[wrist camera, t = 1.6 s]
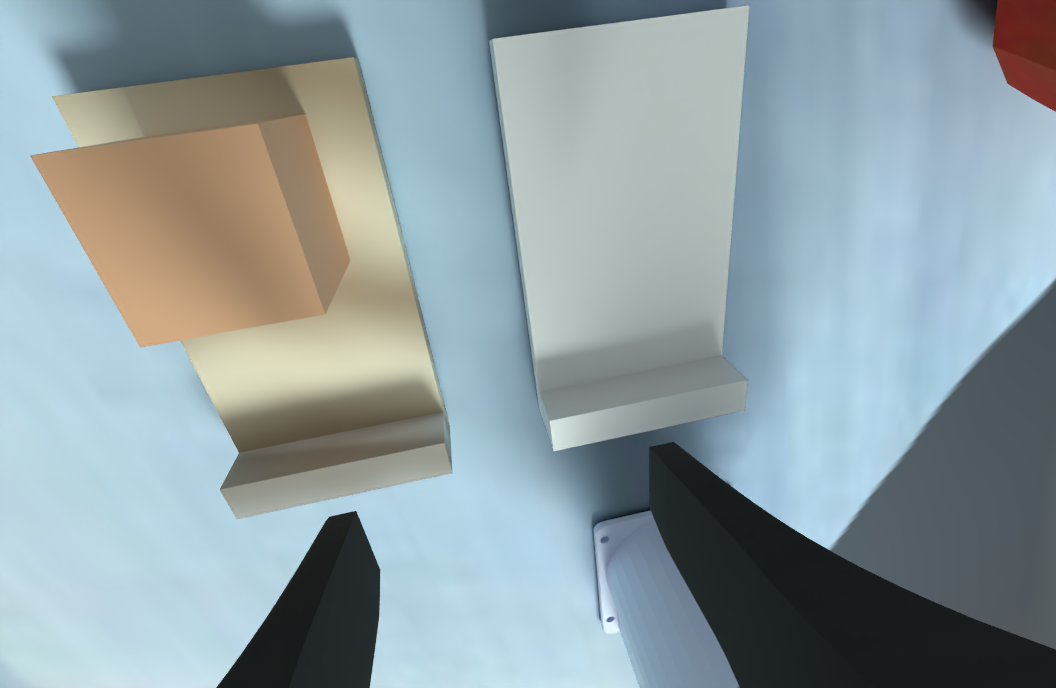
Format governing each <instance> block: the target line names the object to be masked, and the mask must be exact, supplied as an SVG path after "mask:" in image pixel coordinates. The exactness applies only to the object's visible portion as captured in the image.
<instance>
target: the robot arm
mask: <svg viewBox="0 0 1056 688" xmlns="http://www.w3.org/2000/svg"><path fill="white" fill-rule="evenodd" d="M649 480H650V511H646V512H642V513H637V514H633V515H629V516H624V517H620V518H616V519H611V520H607V521H602V522H600V523H598V524H597V525H596V526H595V527H594V542H595V554H596V566H597V578H598V590H599V602H600V614H601V626H602V629H603V632H604V633H606V634H612V633H616V632H621V635H622V638H623V641H624V644H625V647H626V649H627V652H628V655H629V658H630V661H631V664H632V667H633V670H634V672H635V675H636V678H637V681H638V684H639V687H640V688H1056V650H1055V649H1053V648H1050V647H1047V646H1045V645H1042V644H1039V643H1036V642H1034V641H1031V640H1028V639H1026V638H1023V637H1020V636H1018V635H1015V634H1012V633H1010V632H1007V631H1004V630H1002V629H999V628H996V627H994V626H991V625H988V624H986V623H983V622H980V621H978V620H975V619H973V618H971V617H968V616H966V615H963V614H961V613H958V612H956V611H954V610H951V609H949V608H947V607H944V606H942V605H940V604H937V603H935V602H933V601H930V600H928V599H926V598H924V597H921V596H919V595H917V594H915V593H913V592H910V591H908V590H906V589H904V588H902V587H899V586H897V585H896V584H894V583H891V582H889V581H887V580H885V579H883V578H881V577H879V576H877V575H875V574H873V573H871V572H869V571H867V570H865V569H863V568H861V567H859V566H857V565H855V564H853V563H852V562H850V561H847V560H846V559H844V558H842V557H840V556H838V555H837V554H835V553H833V552H831V551H830V550H828V549H826V548H824V547H823V546H821V545H819V544H817V543H816V542H814V541H812V540H810V539H809V538H807V537H805V536H804V535H802V534H800V533H799V532H797V531H795V530H794V529H792V528H791V527H789V526H788V525H786V524H785V523H783V522H781V521H780V520H778V519H777V518H775V517H774V516H772V515H771V514H769V513H768V512H766V511H765V510H763V509H762V508H761V507H759V506H758V505H756V504H755V503H753V502H752V501H751V500H749V499H748V498H746V497H745V496H744V495H742V494H741V493H740V492H738V491H737V490H735V489H734V488H733V487H731V486H730V485H729V484H727V483H726V482H725V481H723V480H722V479H721V478H719V477H718V476H717V475H715V474H714V473H713V472H711V471H710V470H709V469H708V468H706V467H705V466H704V465H702V464H701V463H700V462H699V461H697V460H696V459H695V458H694V457H692V456H691V455H690V454H688V453H687V452H686V451H685V450H683V449H682V448H681V447H680V446H678V445H677V444H676V443H674V442H671V443H667V444H662V445H657V446H653V447H649ZM379 604H380V568H379V566H378V564H377V561H376V559H375V556H374V554H373V551H372V549H371V546H370V544H369V541H368V539H367V536H366V534H365V532H364V529H363V527H362V524H361V522H360V519H359V517H358V514H357V512H356V511H354V512H349V513H345V514H340V515H335V516H331V517H329V518H328V519H327V520H326V522H325V523H324V525H323V527H322V528H321V530H320V532H319V534H318V535H317V537H316V539H315V540H314V542H313V544H312V545H311V547H310V549H309V550H308V552H307V554H306V556H305V557H304V559H303V561H302V562H301V564H300V565H299V567H298V569H297V570H296V572H295V574H294V575H293V577H292V579H291V580H290V582H289V583H288V585H287V586H286V588H285V590H284V591H283V593H282V594H281V596H280V597H279V599H278V601H277V602H276V604H275V605H274V607H273V609H272V610H271V612H270V613H269V615H268V616H267V618H266V619H265V621H264V622H263V623H262V625H261V626H260V628H259V629H258V631H257V632H256V634H255V635H254V636H253V638H252V639H251V641H250V642H249V644H248V645H247V647H246V648H245V649H244V651H243V652H242V654H241V655H240V657H239V658H238V659H237V661H236V662H235V663H234V665H233V666H232V668H231V669H230V670H229V672H228V673H227V674H226V676H225V677H224V678H223V680H222V681H221V682H220V684H219V685H218V686H217V687H216V688H370V681H371V673H372V666H373V659H374V652H375V644H376V636H377V629H378V621H379Z"/></svg>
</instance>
